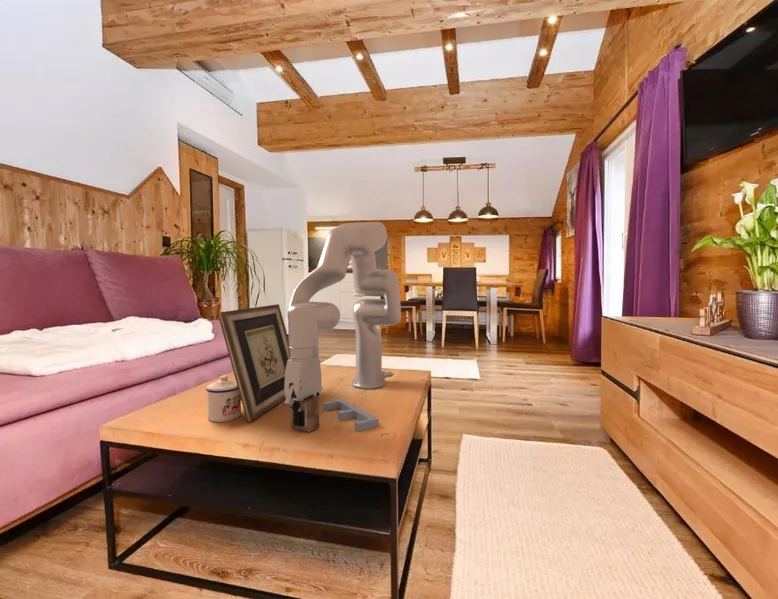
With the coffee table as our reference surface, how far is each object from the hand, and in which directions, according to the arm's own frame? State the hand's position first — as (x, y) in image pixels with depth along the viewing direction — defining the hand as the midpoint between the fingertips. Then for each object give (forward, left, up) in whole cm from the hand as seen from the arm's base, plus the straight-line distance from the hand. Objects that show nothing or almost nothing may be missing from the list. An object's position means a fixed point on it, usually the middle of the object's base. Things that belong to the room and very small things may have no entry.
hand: (305, 421), depth 101 cm
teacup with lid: (+14, -22, -2) cm, 26 cm away
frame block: (0, 0, -2) cm, 2 cm away
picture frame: (+2, -27, -2) cm, 27 cm away
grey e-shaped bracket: (-13, -1, -2) cm, 14 cm away
